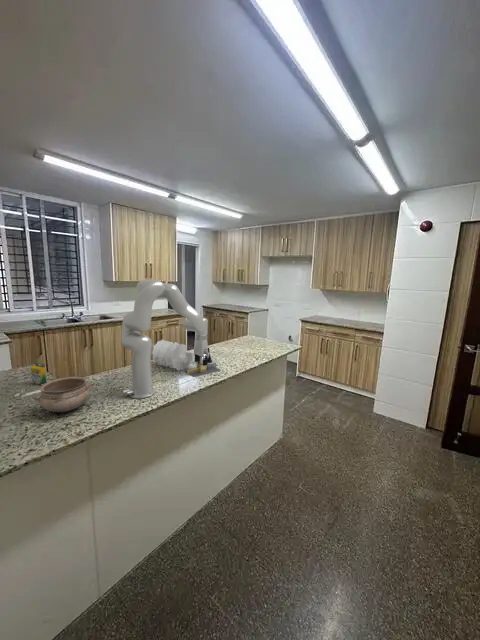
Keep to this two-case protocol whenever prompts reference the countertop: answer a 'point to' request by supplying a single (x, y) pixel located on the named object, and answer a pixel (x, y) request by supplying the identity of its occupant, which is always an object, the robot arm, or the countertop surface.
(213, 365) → the fixed leaf
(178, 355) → the spiral staircase
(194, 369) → the loose leaf
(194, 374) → the mat
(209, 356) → the phone stand
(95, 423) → the countertop surface
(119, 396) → the countertop surface
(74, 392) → the cooking pot
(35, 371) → the crayon box
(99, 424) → the countertop surface
